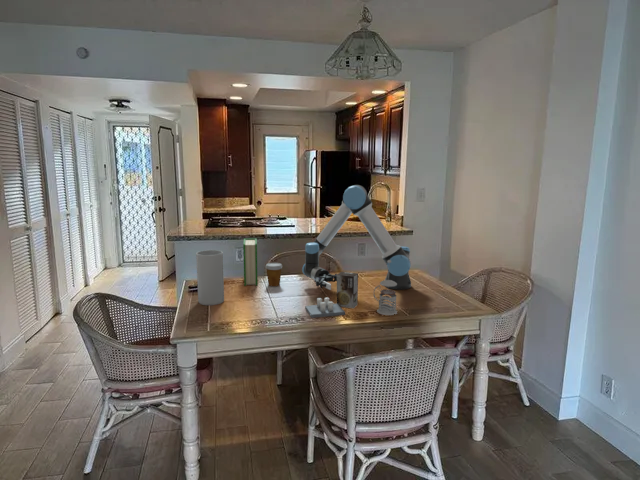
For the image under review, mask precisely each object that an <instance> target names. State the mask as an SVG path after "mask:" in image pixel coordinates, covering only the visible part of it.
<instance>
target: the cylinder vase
mask: <svg viewBox="0 0 640 480" xmlns="http://www.w3.org/2000/svg"><path fill="white" fill-rule="evenodd" d="M195 253H196V254H195V255H196V257H195V258H196V277H197V278H196V279H197V301H198V303H199V304H200V305H203V306H217V305H219V304H220V305H221V304H222V303H224V301H225V284H224V282H225V281H224V280H225V278H224V252H223V251H222V250H219V249H218V250H217V249H206V250H199V251H197V252H195Z"/></svg>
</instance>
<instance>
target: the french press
mask: <svg viewBox="0 0 640 480" xmlns="http://www.w3.org/2000/svg"><path fill="white" fill-rule="evenodd" d="M387 262H388V263H391V260H388V261H387ZM396 285H397V283H396V282H394V281H392V280H389V276H388V280H385V279H383V280H382V281H380V282H379V284H378V285H377V286H375V287H374V289H373V292H375V291H376V289H377V288H381V286H383V287H385V286H387V287H394V286H396ZM387 287H386V289H381V290H380V293H379V298H378V297H376V295H375V294H373V298H374V299H375V300H376V301H378V309H377V310H376V313H378V314H380V315H383V316H384V315H385V316H394V314H395V315H397V314H398V313H397V312H398V310H397V308H396V307H397V295H396V293H397V292H396V291H395V289H390V288H387Z"/></svg>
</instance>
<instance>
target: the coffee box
mask: <svg viewBox="0 0 640 480" xmlns="http://www.w3.org/2000/svg"><path fill="white" fill-rule="evenodd" d="M336 274H337V281H336V303H337V304H338V305H339V306H340V307H341V308H346V309H347V308H349V309H353V310H354V309H355V308H356V307H357V306H358V304H359V303H358V301H359V299H358V297H359V295H358V293H359V273H356V272H348V271H340V272H339V273H336Z"/></svg>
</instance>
